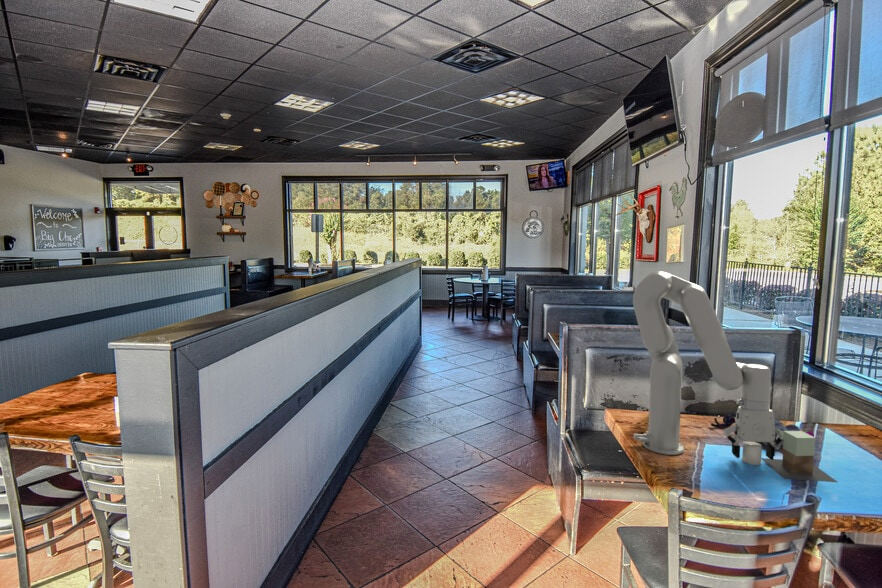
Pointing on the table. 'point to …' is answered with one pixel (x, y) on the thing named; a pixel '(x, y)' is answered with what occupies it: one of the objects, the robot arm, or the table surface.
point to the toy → (730, 419)
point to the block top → (799, 443)
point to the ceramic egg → (752, 453)
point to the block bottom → (798, 463)
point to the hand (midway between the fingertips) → (752, 457)
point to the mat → (786, 474)
